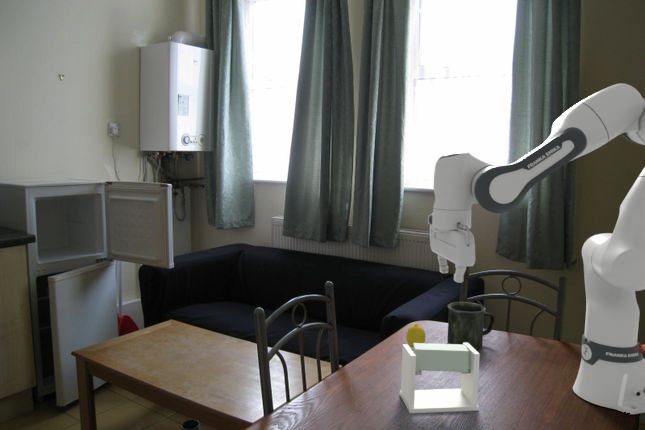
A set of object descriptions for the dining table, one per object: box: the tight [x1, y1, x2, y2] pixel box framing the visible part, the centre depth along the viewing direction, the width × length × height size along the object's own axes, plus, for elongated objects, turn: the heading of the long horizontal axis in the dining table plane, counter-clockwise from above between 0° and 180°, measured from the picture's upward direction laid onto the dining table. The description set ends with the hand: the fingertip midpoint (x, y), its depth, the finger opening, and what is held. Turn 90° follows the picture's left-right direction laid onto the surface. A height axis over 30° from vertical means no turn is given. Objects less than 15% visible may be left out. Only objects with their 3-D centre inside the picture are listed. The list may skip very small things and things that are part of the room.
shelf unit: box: [399, 343, 481, 414], centre depth 119 cm, size 16×9×13 cm, turn 96°
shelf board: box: [412, 342, 469, 373], centre depth 119 cm, size 12×4×5 cm, turn 87°
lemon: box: [406, 323, 426, 349], centre depth 151 cm, size 6×6×8 cm
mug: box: [447, 301, 495, 351], centre depth 156 cm, size 11×15×12 cm
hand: (450, 277), depth 124 cm, fingers open, 8 cm apart
